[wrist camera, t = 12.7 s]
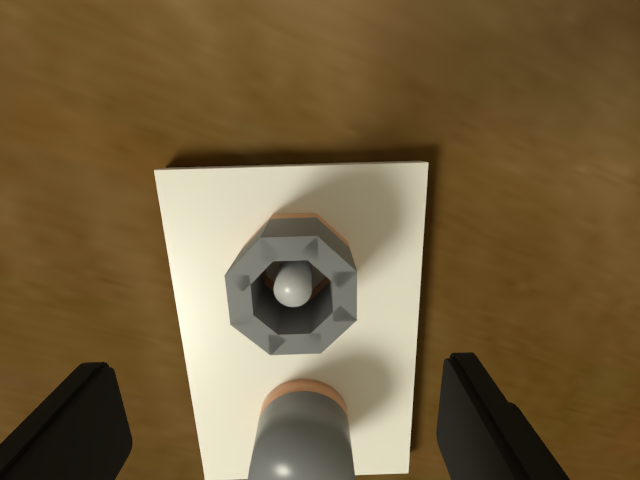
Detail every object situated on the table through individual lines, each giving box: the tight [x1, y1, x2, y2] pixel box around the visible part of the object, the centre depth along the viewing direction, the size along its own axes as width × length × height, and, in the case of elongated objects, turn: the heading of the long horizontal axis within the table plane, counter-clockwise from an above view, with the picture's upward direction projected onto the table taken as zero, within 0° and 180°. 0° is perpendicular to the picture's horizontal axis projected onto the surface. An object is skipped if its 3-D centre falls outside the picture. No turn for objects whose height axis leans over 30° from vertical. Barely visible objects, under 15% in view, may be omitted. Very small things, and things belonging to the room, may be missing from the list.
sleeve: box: [224, 213, 357, 356], centre depth 19 cm, size 6×6×5 cm
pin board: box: [154, 161, 428, 480], centre depth 22 cm, size 16×24×6 cm, turn 2°
